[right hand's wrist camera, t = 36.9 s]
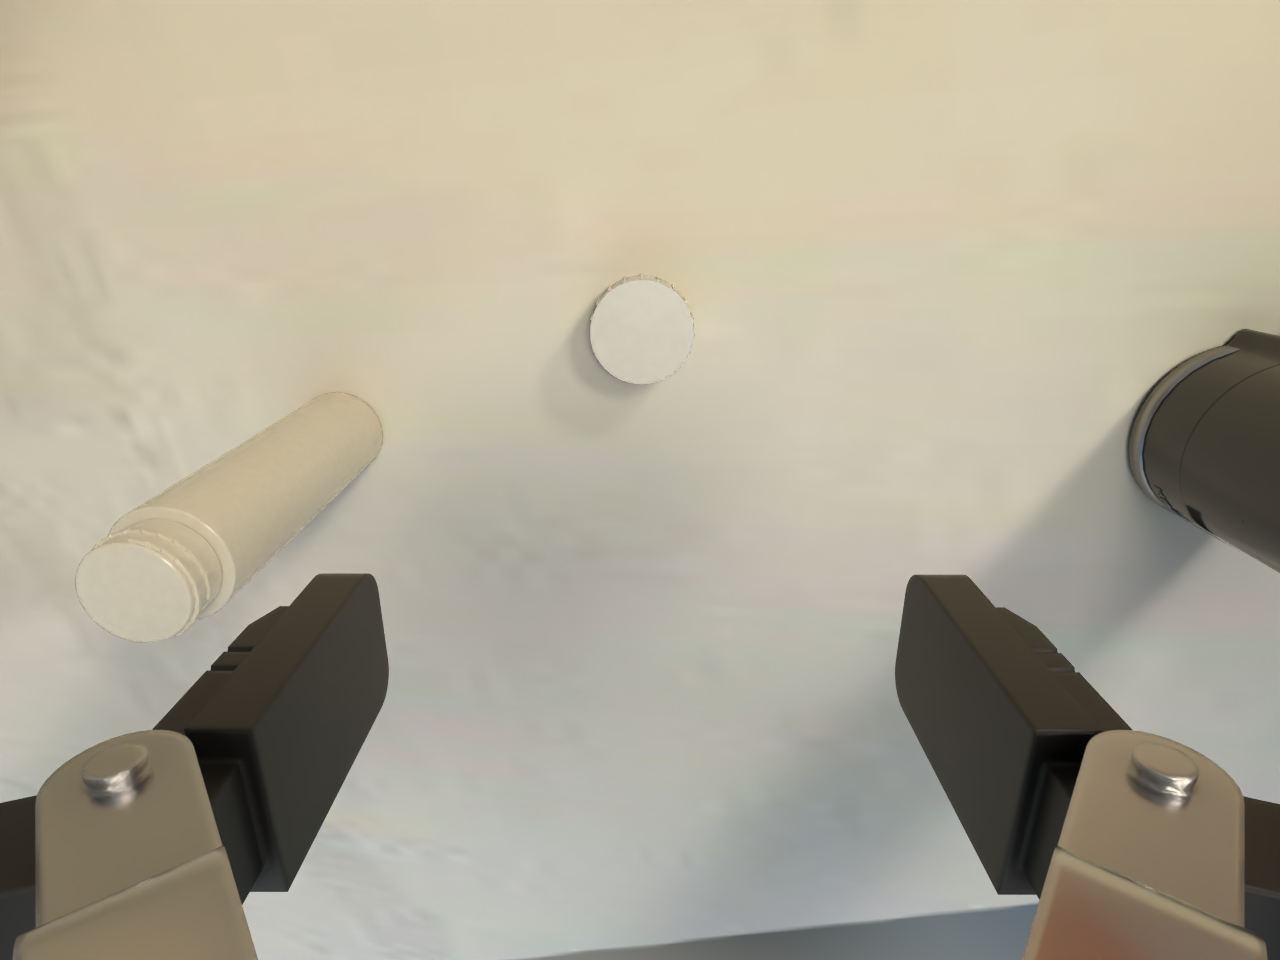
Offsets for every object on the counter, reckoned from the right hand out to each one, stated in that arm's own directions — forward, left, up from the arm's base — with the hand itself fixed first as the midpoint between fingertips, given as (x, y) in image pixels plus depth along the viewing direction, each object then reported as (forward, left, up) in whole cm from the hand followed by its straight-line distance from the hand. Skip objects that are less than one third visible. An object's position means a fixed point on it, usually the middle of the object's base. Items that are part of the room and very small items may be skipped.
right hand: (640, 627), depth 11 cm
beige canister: (+13, -11, -28) cm, 33 cm away
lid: (0, 0, -26) cm, 26 cm away
